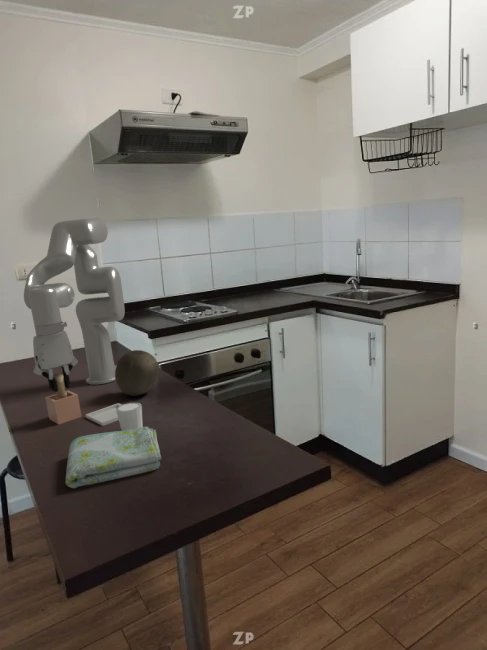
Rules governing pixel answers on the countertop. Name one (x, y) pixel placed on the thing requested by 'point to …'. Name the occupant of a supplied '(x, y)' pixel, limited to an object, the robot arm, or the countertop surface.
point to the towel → (111, 456)
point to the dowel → (60, 386)
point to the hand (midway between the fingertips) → (60, 388)
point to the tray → (104, 415)
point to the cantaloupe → (136, 372)
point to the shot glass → (130, 416)
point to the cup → (63, 408)
